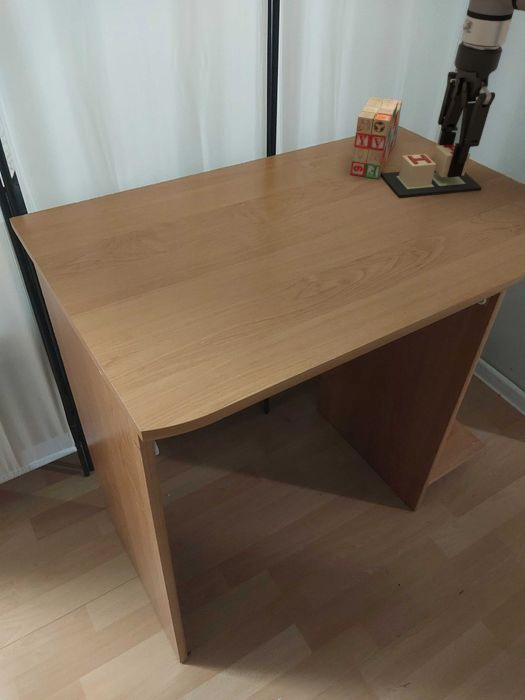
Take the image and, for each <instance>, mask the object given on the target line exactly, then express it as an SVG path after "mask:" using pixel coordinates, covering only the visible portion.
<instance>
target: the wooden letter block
mask: <svg viewBox="0 0 525 700" xmlns="http://www.w3.org/2000/svg"><path fill="white" fill-rule="evenodd" d="M439 145H440V144H439ZM439 145H435V149H434V153H433V157H432V161H433V162H434V163H435V164H436V166H435V171H436V172H437V173H438V174H439V175H440V176H441V177H448V176H447V175H448V171H449V167H450V164H451V160H452V156H453V152H454V148H455V143H454V144H453V145H440V146H439ZM470 157H471V153H468V156H467V160H466V162H465V164H464V168H463V171H462V175H461V176H463V175H464V174H465V173H466V170H467V166H468V163H469V159H470Z"/></svg>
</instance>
